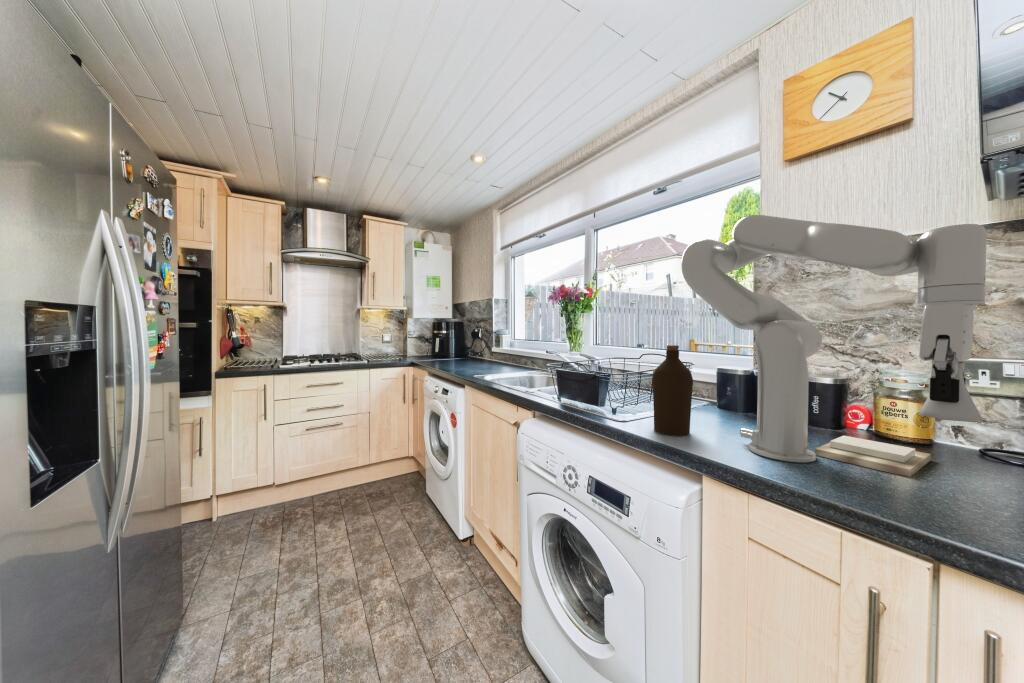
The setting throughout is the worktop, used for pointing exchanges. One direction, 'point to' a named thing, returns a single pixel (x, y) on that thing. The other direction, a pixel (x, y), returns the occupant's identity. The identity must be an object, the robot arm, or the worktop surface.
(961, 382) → the flask
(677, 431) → the olive oil
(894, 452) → the tile
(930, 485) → the worktop surface
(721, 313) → the robot arm
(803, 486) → the worktop surface
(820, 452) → the board
